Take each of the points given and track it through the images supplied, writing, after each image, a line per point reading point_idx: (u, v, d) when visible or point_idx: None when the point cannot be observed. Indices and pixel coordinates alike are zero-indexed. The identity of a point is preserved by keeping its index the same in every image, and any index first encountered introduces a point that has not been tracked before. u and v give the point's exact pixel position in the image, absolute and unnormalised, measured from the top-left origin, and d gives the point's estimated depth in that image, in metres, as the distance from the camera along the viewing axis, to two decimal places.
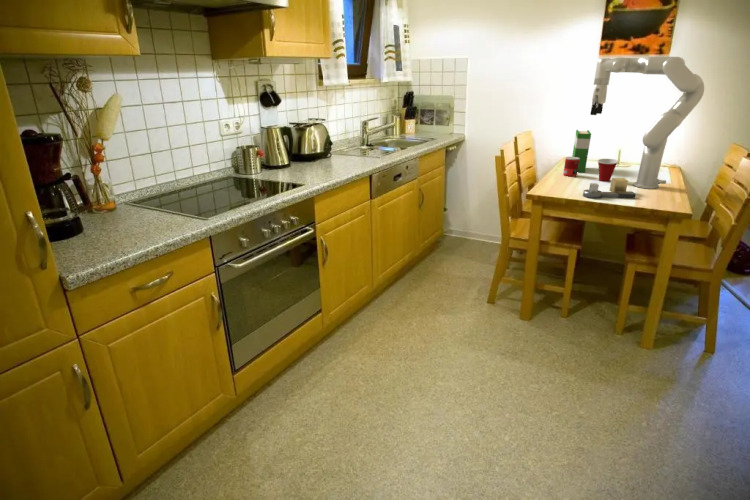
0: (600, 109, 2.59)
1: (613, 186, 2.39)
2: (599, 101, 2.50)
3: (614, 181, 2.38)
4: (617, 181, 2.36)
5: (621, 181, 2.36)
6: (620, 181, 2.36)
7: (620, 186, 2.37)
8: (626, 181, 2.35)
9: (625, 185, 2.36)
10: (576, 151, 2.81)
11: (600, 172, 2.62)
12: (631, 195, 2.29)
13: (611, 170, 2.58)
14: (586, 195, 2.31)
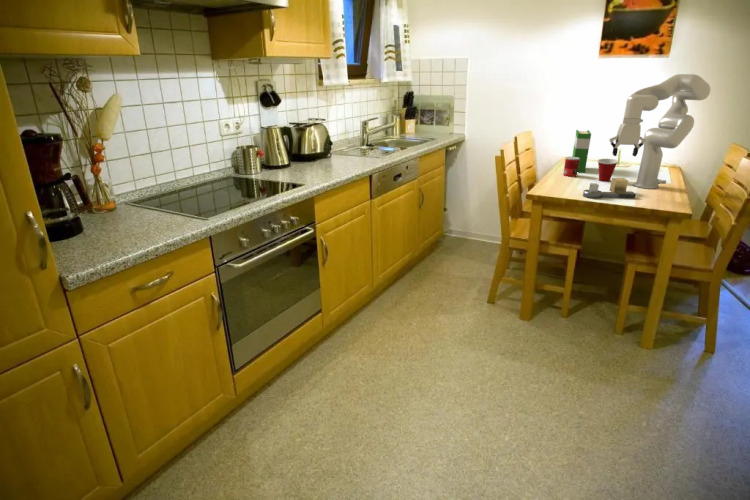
0: None
1: (613, 186, 2.39)
2: None
3: (614, 181, 2.38)
4: (617, 181, 2.36)
5: (621, 181, 2.36)
6: (620, 181, 2.36)
7: (620, 186, 2.37)
8: (626, 181, 2.35)
9: (625, 185, 2.36)
10: (576, 151, 2.81)
11: (600, 172, 2.62)
12: (631, 195, 2.29)
13: (611, 170, 2.58)
14: (586, 195, 2.31)
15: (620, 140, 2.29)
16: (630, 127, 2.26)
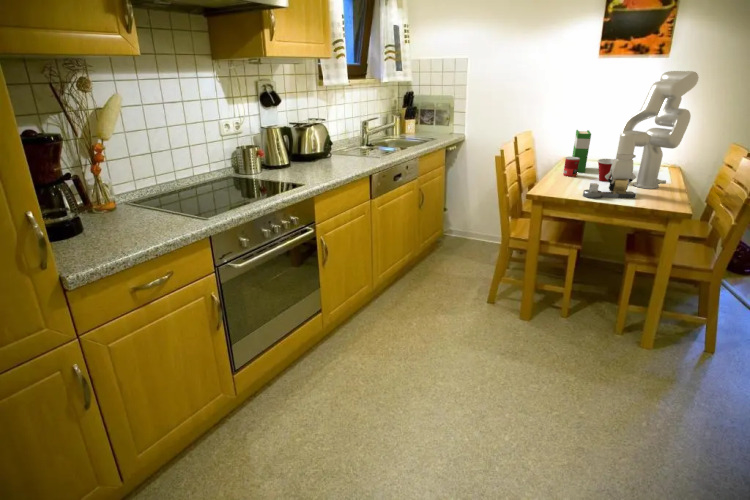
0: None
1: None
2: None
3: (614, 181, 2.38)
4: (617, 181, 2.36)
5: (621, 181, 2.36)
6: (620, 181, 2.36)
7: (620, 186, 2.37)
8: (626, 181, 2.35)
9: (625, 185, 2.36)
10: (576, 151, 2.81)
11: (600, 172, 2.62)
12: (631, 195, 2.29)
13: None
14: (586, 195, 2.31)
15: (613, 175, 2.36)
16: (623, 162, 2.33)
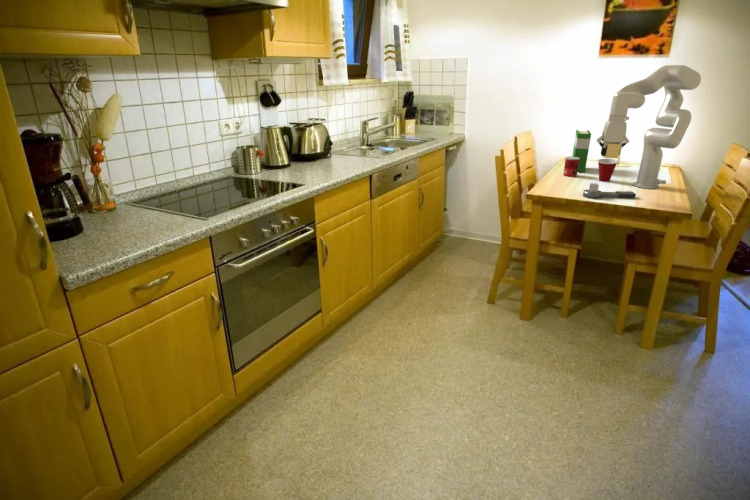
0: None
1: None
2: None
3: (606, 145, 2.26)
4: (609, 145, 2.24)
5: (613, 144, 2.24)
6: (612, 145, 2.24)
7: (612, 150, 2.25)
8: (619, 145, 2.24)
9: (618, 149, 2.24)
10: (576, 151, 2.81)
11: (600, 172, 2.62)
12: (631, 195, 2.29)
13: (611, 170, 2.58)
14: (586, 195, 2.31)
15: (606, 138, 2.24)
16: (616, 124, 2.21)
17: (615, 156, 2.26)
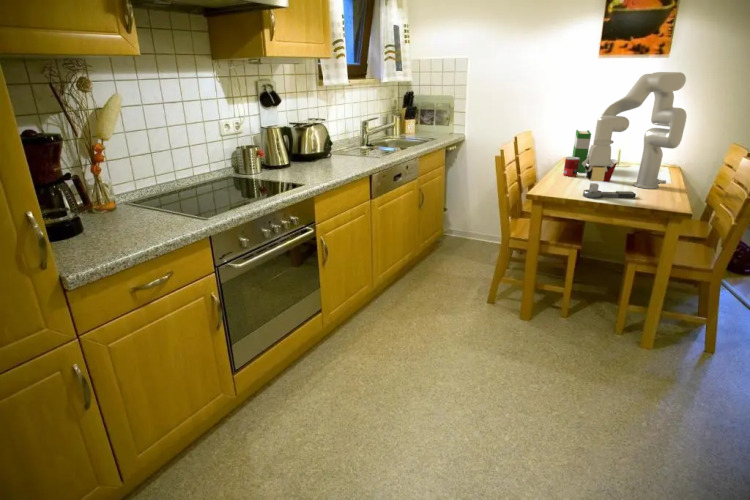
0: None
1: None
2: None
3: None
4: (594, 168, 2.25)
5: (598, 168, 2.25)
6: (597, 168, 2.25)
7: (597, 173, 2.26)
8: (604, 168, 2.25)
9: (603, 173, 2.25)
10: (576, 151, 2.81)
11: None
12: (631, 195, 2.29)
13: (611, 170, 2.58)
14: (586, 195, 2.31)
15: (591, 161, 2.25)
16: (601, 148, 2.22)
17: (600, 179, 2.27)
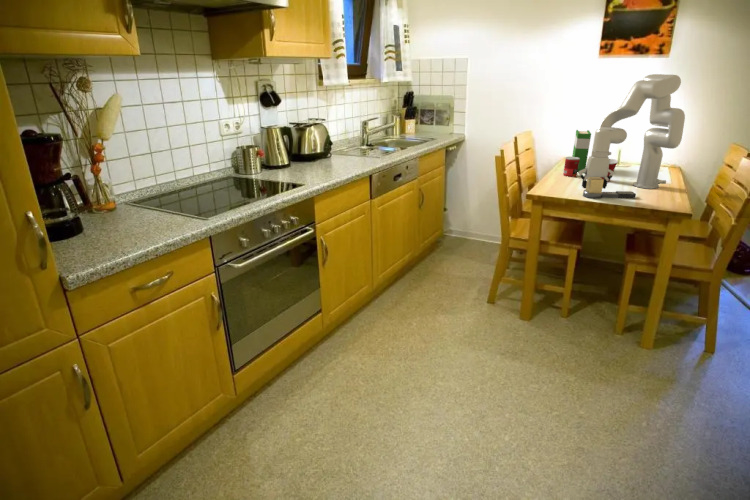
0: None
1: (589, 185, 2.30)
2: None
3: (589, 180, 2.29)
4: (592, 180, 2.27)
5: (596, 180, 2.27)
6: (595, 180, 2.27)
7: (596, 185, 2.28)
8: (602, 180, 2.27)
9: (601, 185, 2.28)
10: (576, 151, 2.81)
11: None
12: (631, 195, 2.29)
13: (611, 170, 2.58)
14: (586, 195, 2.31)
15: (589, 173, 2.27)
16: (599, 160, 2.24)
17: (598, 191, 2.29)
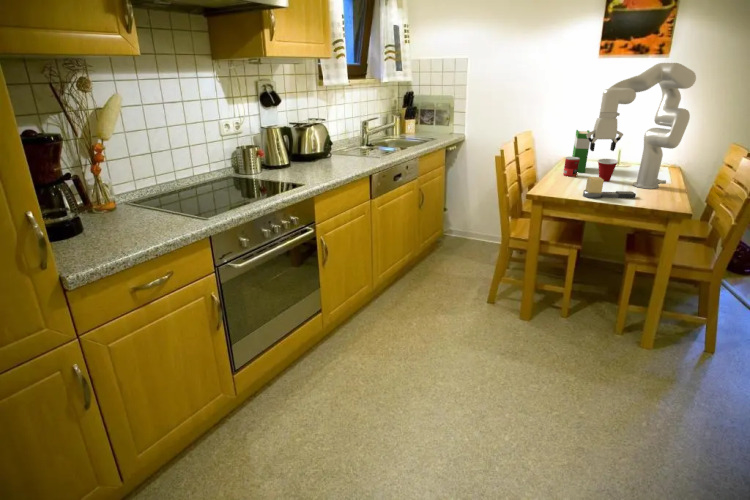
0: None
1: (589, 185, 2.30)
2: None
3: (589, 180, 2.29)
4: (592, 180, 2.27)
5: (596, 180, 2.27)
6: (595, 180, 2.27)
7: (596, 185, 2.28)
8: (602, 180, 2.27)
9: (601, 185, 2.28)
10: (576, 151, 2.81)
11: (600, 172, 2.62)
12: (631, 195, 2.29)
13: (611, 170, 2.58)
14: (586, 195, 2.31)
15: (597, 135, 2.23)
16: (607, 121, 2.20)
17: (598, 191, 2.29)
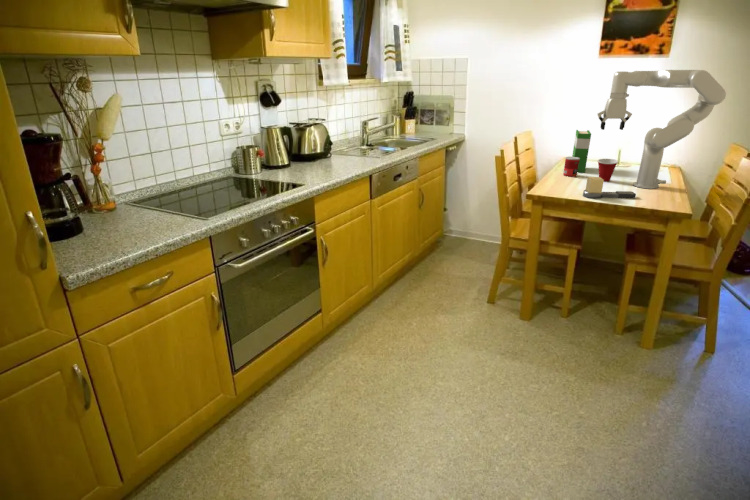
0: None
1: (589, 185, 2.30)
2: None
3: (589, 180, 2.29)
4: (592, 180, 2.27)
5: (596, 180, 2.27)
6: (595, 180, 2.27)
7: (596, 185, 2.28)
8: (602, 180, 2.27)
9: (601, 185, 2.28)
10: (576, 151, 2.81)
11: (600, 172, 2.62)
12: (631, 195, 2.29)
13: (611, 170, 2.58)
14: (586, 195, 2.31)
15: (607, 114, 2.42)
16: (617, 101, 2.38)
17: (598, 191, 2.29)
